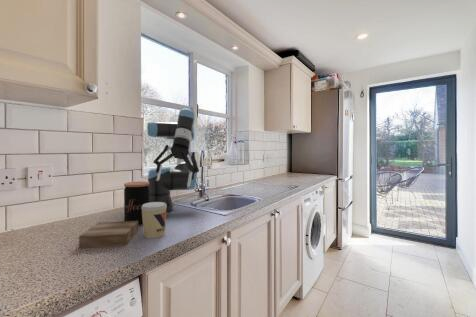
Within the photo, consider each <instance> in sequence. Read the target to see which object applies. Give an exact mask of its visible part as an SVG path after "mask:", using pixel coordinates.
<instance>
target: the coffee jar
mask: <svg viewBox="0 0 476 317" xmlns="http://www.w3.org/2000/svg"><path fill="white" fill-rule="evenodd" d="M123 185H124V190H123V201H124V202H123V210H124V212H123V213H124V214H123V215H124V216H123V217H124V220H123V221H138V226H140V225H143V219H142V209H141V207H142V205H143V204H145V203H150V188H149V187H148V186H149V182H148V181H129V182H125V183H124V184H123Z"/></svg>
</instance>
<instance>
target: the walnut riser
mask: <svg viewBox="0 0 476 317" xmlns="http://www.w3.org/2000/svg"><path fill="white" fill-rule="evenodd" d="M138 231H139V225H138V221H124V220H123V221H99V222H97V223H96V224H94V225H92V227H90V228H89V229H87V230H86V231H84V232H83V233H82V234H79V236H78V248H79V249H81V248H82V249H83V248H84V249H85V248H100V247H101V248H105V247H120V246H123V247H124V246H128V244H129V243H130V241H131V240H132V239H133V237H134V236H135V235H137V232H138Z"/></svg>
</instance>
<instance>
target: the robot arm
mask: <svg viewBox="0 0 476 317" xmlns="http://www.w3.org/2000/svg"><path fill="white" fill-rule="evenodd" d="M195 116H196V115H195V112H194V111H193V110H191V109H188V108H182V109H180V110H179V114H178V118H177V122H173V121H171V122H170V121H169V122H161V121H160V122H158V121H157V122H156V121H149V122H147V126H146V128H147V129H146V132H147V133H146V134H147V136H148V137H151V138H161V139H165V140H173V141H172V146H170V145H169V144H165V146H164V148H163V150H162V151H161V152H160V153H159V155H158V156H157V157H155V159H154V160H153V164H155V165H156V167H155V168H151V169H150V170H148V174H147V180H148V181H147V182H149V186H148V187H149V188H150V202H164V203H166V205H167V207H166V213H167V212H171V211H173V210H174V202H173V199H172V197H171V196H172V195H171V191H189V190H191V191H192V190H196V187H197V178H198V173H199V172H200V170H199V166H198V163H197V159H196V157H195V156H196V152H195V151H192V150H191V149H192V148H191V147H192V146H191V142H192V141H194V140H195V129H194V122H195ZM168 151H170V154H169V155H166V157H164V158H162V157H163V156H164V154H165V153H166V152H168ZM173 157H174V159H176V166H174V169H172V168H171V167H170V166H165V167H163V164H164V163H166V162H167V161H168V160H170V159H171V158H173ZM161 158H162V159H161ZM159 160H160V161H159Z"/></svg>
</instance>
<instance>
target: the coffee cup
mask: <svg viewBox="0 0 476 317" xmlns="http://www.w3.org/2000/svg"><path fill="white" fill-rule="evenodd" d="M166 207H167V205H166V203H164V202H150V203H145V204H143V205H142V207H141V209H142V219H143V224H142V230H143V237H144V238H147V239H156V238H160V237H161V238H162V237H163V236H165V231H166V222H167V221H166V220H167V218H166V217H167V212H166Z"/></svg>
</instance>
